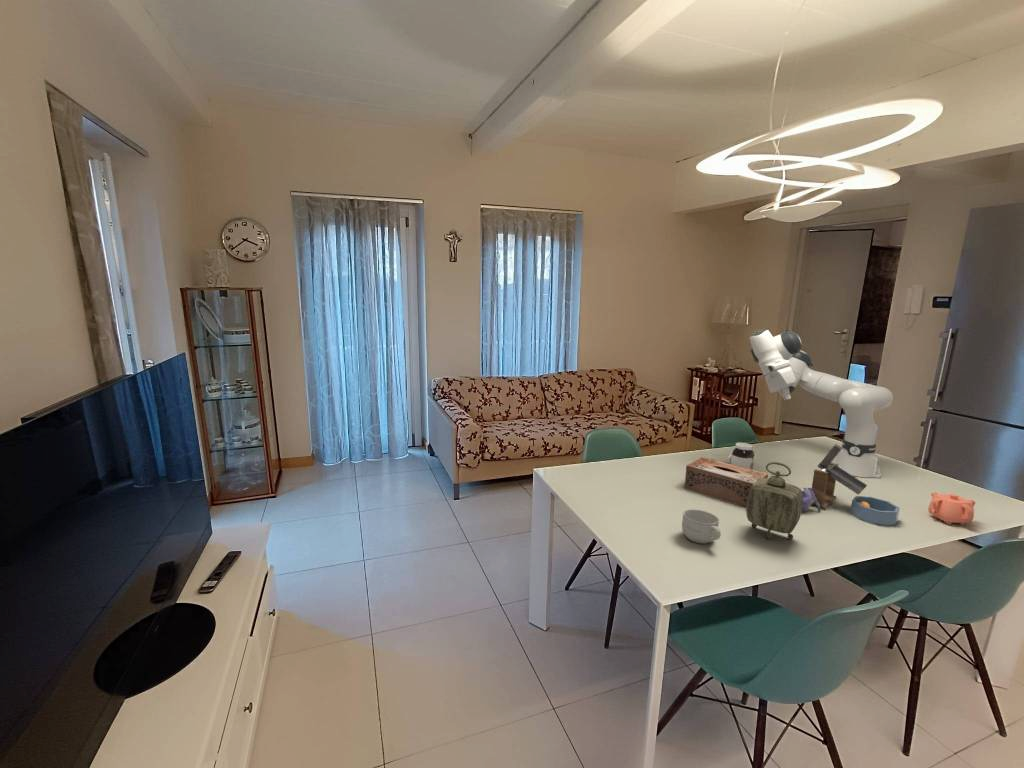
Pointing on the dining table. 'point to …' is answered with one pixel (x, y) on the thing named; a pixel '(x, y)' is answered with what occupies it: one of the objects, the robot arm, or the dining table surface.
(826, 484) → the stand
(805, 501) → the flower
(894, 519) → the blue octagonal bowl
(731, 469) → the tissue box cover
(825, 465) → the lever
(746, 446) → the spread jar
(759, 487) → the tabletop clock
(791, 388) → the robot arm
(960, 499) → the teapot
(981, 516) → the dining table surface
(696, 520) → the teacup
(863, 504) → the ball
